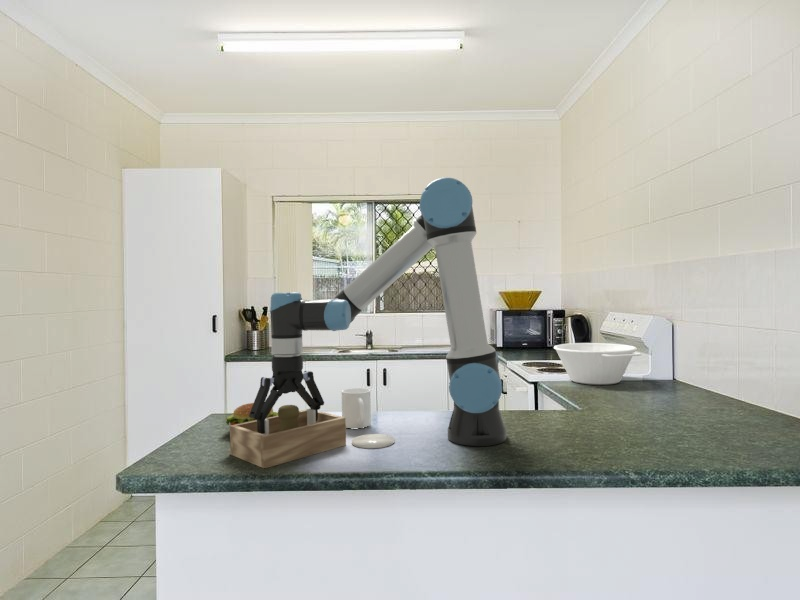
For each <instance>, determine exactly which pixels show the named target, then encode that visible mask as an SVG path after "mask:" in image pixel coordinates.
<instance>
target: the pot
mask: <svg viewBox="0 0 800 600" xmlns="http://www.w3.org/2000/svg"><path fill="white" fill-rule="evenodd" d="M553 349H554V350H555V351H556V353H557V354H558V357H559V360H560V361H561V363H562V365H563V367H564V369H565V371H566V374H567V375H568V378H569V380H571V381H572V382H573V383H577V384H581V385H589V386H590V385H591V386H609V385H614V384H619V383H620V382H621V381H622V378H623V377H624V375H625V372H626V370H627V368H628V366H629V364H630V362H631V361H632V358H633V357H638V356H640V357H641V356H642V353H641V352H636V351H638V348H637V347H636V346H635V345H634V346H633V345H630V344H629V345H628V344H623V343H622V344H621V343H609V342H608V343H607V342H571V343H561V344H557V345H554V346H553Z"/></svg>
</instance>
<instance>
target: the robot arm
mask: <svg viewBox="0 0 800 600" xmlns="http://www.w3.org/2000/svg"><path fill="white" fill-rule="evenodd" d="M473 209H474V208H473V196H472V194H471V190H470V189H469V188H468V187H467V186H466V184H464V183H463V182H462V181H460V180H458V179H457V178H454V177H448V176H447V177H445V176H444V177H441V178H440V177H439V178H437V179H435V180H432V181H431V182H430V183H428V184H427V185H426V186H425V188H424V189H423V191H422V193H421V196H420V199H419V211H420V214H419V215H418V216H416V217H415V218H414V220H413V226H412V227H411V228H410V229H409V230H407V231H406V232H405V233H404V234H403V235H402V236H401V237H400V238H399V239H397V240H396V241H395V242H394V243H393V244H392V245H391V246H390V247H389V248H387V250H385V251H384V252H383V253H382V254H381V255H380V256H378V257H377V259H375V260H374V261H373V262H372V263H371V264H370V265H369V266H368V267H367V268H366V269H364V270H362V272H361V273H360V274H359V275H358V276H357V277H356V278H354V279H353V280H352V281H351V282H350V283H349V284H348V285H347V286H346V287H345V288H343V290H341V291H340V292H339V293H338V294H336V296H334V297H333V298H330V299H312V300H311V299H309V300H307V299H303V298H302V293H300V292H297V291H296V292H294V291H293V292H274V293H272V294H271V297H270V310H269V313H270V315H269V316H270V334H271V336H270V338H271V340H270V342H271V355H273V356H272V357H271V371H272V376H271V377H264V376H262V377H261V378H260V382H259V383H260V385H259V389H258V391H257V394H256V396H255V398H254V401H253V403H254V404H253V406H252V409H251V411H250V414H249V417H250V418H253V419H256V420H257V432H258V433H261V434H264V435H268V434H269V420H267V419H266V417H267V416H268V414H269V413H270V411H271V409H272V408H274V406H275V405H276V403H277V402H278V400H279V398H280V397H281V396H282V395H283V394H284V395H286V394H289V393H297V395H299V396H300V398H301V399H302V400H303V402H305V403H306V405H307V406H308V407H309V408H306V410H307V425H310V424H314V423H316V421H317V420H318V411H320V409H321V406H324V405H325V401H324V398H323V397H322V395H321V392H320V390H319V387H318V386H317V384H316V381H315V379H314V377H315V376H314V372H313V371H311V370H304V371H303V369H304V362H303V361H304V357H303V354H302V353H303V350H304V348H303V347H304V345H303V331H304V332H305V331H332V332H337V331H345V330H348V328H349V327H350V325H351V323H352V322H353V321H354V320H355V318H356V317H357V316H358V315H360V313H361V312H362V311H363V310H364V309H365V308H367V307H368V306H369V305H370V304H371V303H373V302H374V301H375V299H376V298H378V297H379V296H380V295H381V294H383V293H384V292H385V291H386V290H387V289H388V288H389V287H390V286H391V285H392V284H394V283H395V282H396V281H397V280H398V279H399V278H401V276H403V275H404V274H405V273H406V272H407V271H408V270H410V268H411V267H413V266H414V265H415V264H416V263H417V262H418V261H420V260H421V258H423V257H424V256H425V255H426V254H427V253H429V252H430V251H431V250H433V248H434V250H435V257H436V263H437V269H438V275H439V280H440V281H439V283H440V288H441V293H442V295H441V296H442V301H443V307H444V312H445V318H446V325H447V331H448V332H447V333H448V337H449V343H450V349H449V351H448V353H447V354H446V355H445V359H446V365H447V373H448V378H449V382H448V384H449V385H448V392H449V395H450V397H451V400H452V401H453V410H452V413H451V417H450V419H449V424H448V427H447V439H448V440H449V441H450V442H452V443H454V444H456V445H457V444H458V445H463V446H470V447H471V446H472V447H486V446H489V447H490V446H496V445H500V444H502V443H504V442H506V440H507V429H506V427H505V422H504V421H503V417H502V414H501V411H500V404H499V402H500V398H501V396H502V393H503V381H502V379H501V376H500V370H499V369H500V368H499V363H500V359H499V353H498V351H496V349H495V347H493V346H492V345H491V344H489V343H488V336H487V330H486V325H485V318H484V313H483V307H482V301H481V293H480V288H479V282H478V276H477V270H476V269H477V268H476V264H475V263H476V262H475V257H474V251H473V245H472V241H473V240H474V238H475V237H476V235H477V227H476V221H475V216H474V210H473ZM303 380H304V382H305V385H306V387H307V389H308V391H307V390H306V387H305V386H304V385H303V383H302V381H303ZM272 385H273V386H272ZM271 386H272V388H271ZM270 388H271V389H270ZM269 391H270V393H269Z"/></svg>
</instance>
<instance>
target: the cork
mask: <svg viewBox="0 0 800 600" xmlns="http://www.w3.org/2000/svg"><path fill="white" fill-rule="evenodd" d="M299 411H300V408H299V407H298V405H295V404H286V405H281V406H280V407H279V408H278V410H277V413H278V417H279V418H280V428H279V432H281V431H285V430H289V429H293V428H297V427H298V421H297V418H298V416H299Z"/></svg>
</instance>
